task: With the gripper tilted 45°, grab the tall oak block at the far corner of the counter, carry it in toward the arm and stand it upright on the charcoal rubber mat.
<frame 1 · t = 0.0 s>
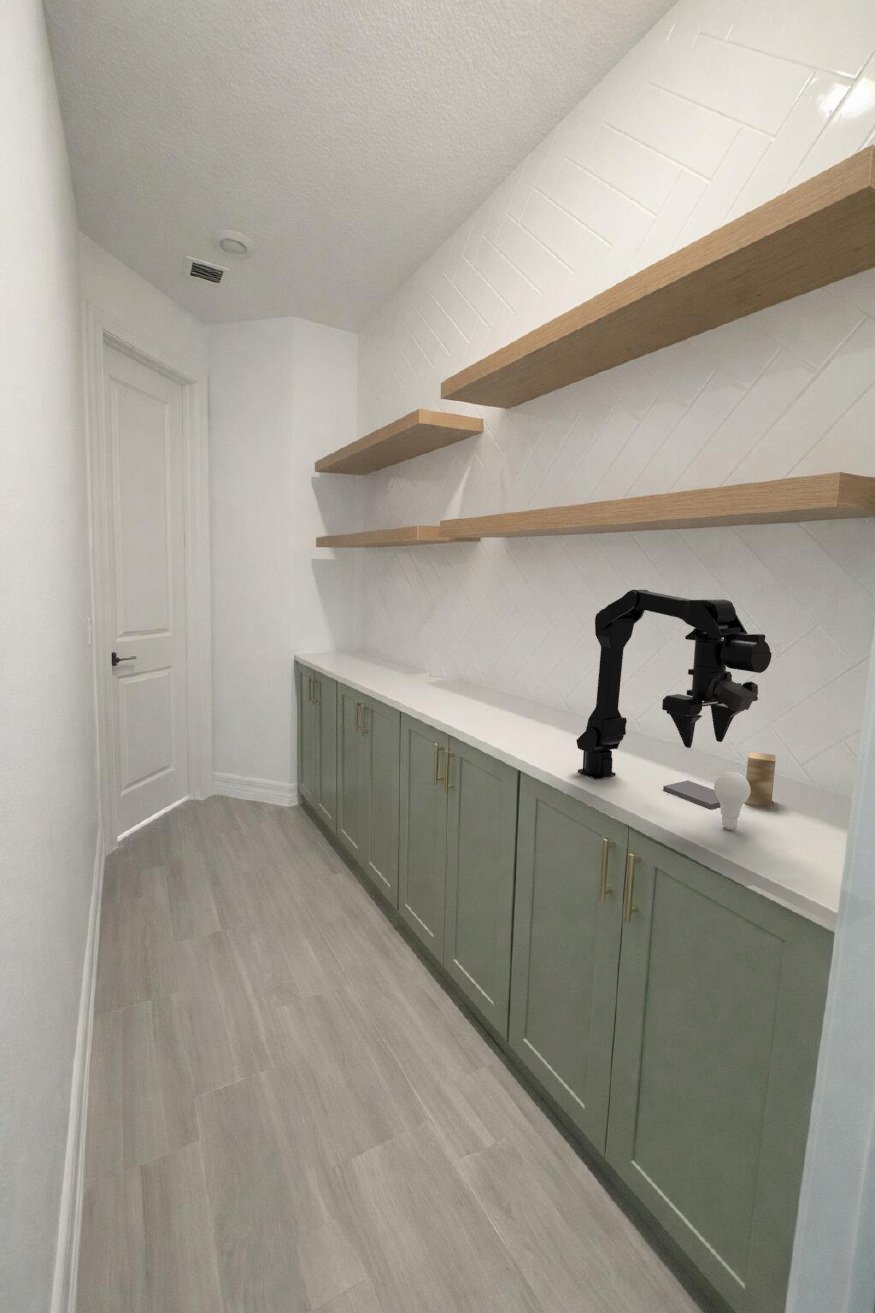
hand: (703, 744, 116), 15 cm above the worktop, tool pointing down, fingers open, 9 cm apart
lightbulb: (728, 830, 113), on the worktop
oak block: (757, 802, 126), on the worktop
charcoal mat: (698, 796, 129), on the worktop
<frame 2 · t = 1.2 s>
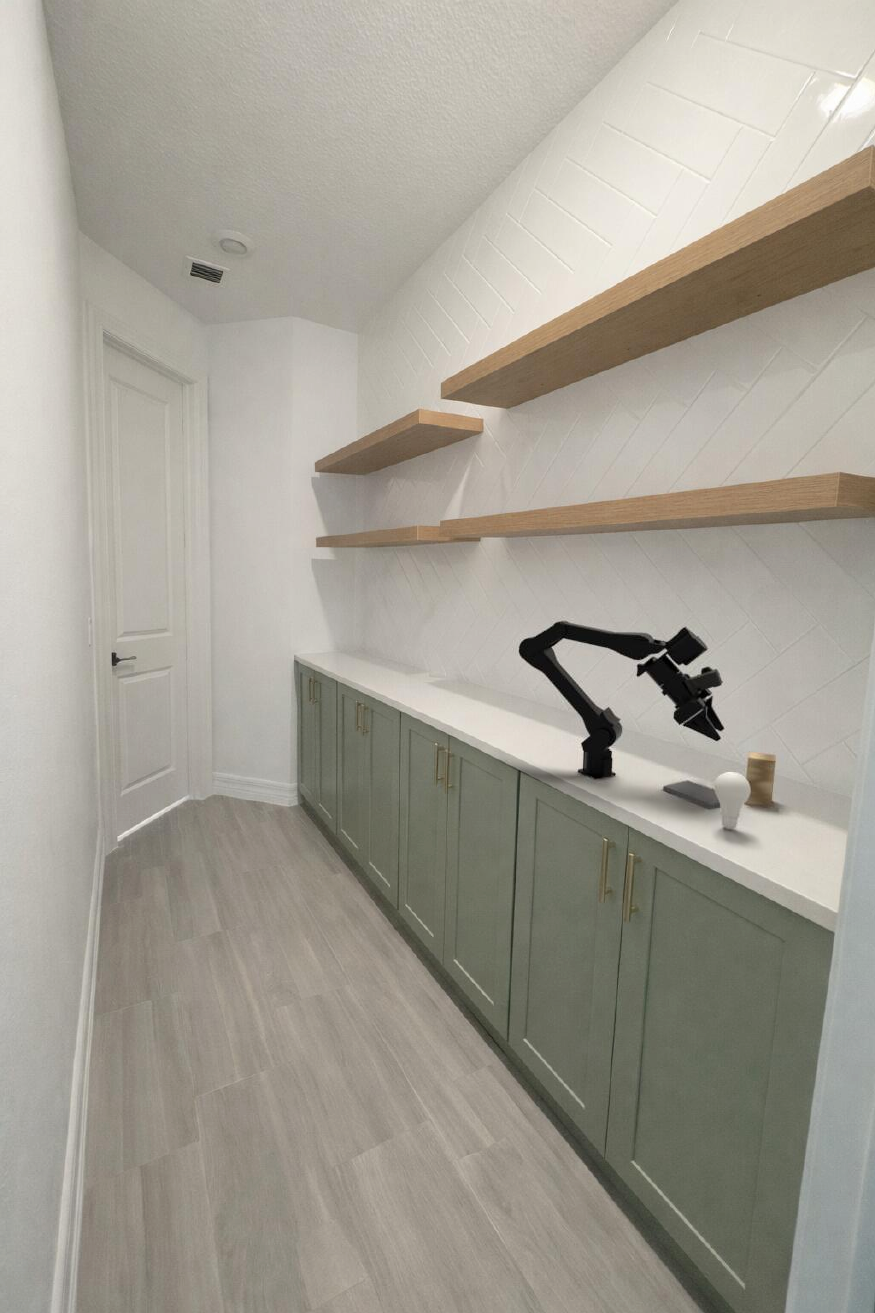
hand: (720, 734, 128), 13 cm above the worktop, tool tilted 45°, fingers open, 9 cm apart
nothing on the worktop moved.
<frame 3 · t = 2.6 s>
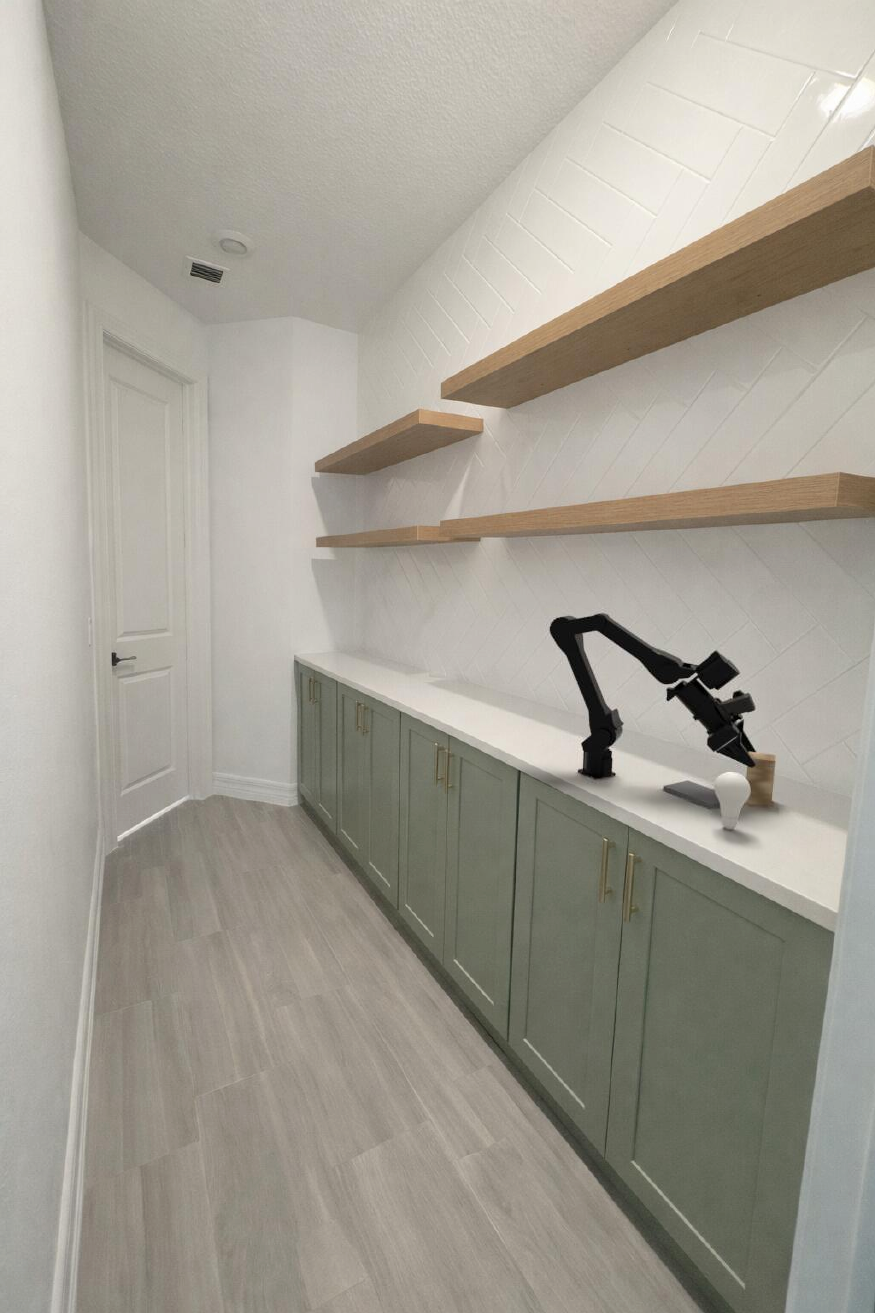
hand: (754, 760, 126), 9 cm above the worktop, tool tilted 45°, fingers open, 9 cm apart
nothing on the worktop moved.
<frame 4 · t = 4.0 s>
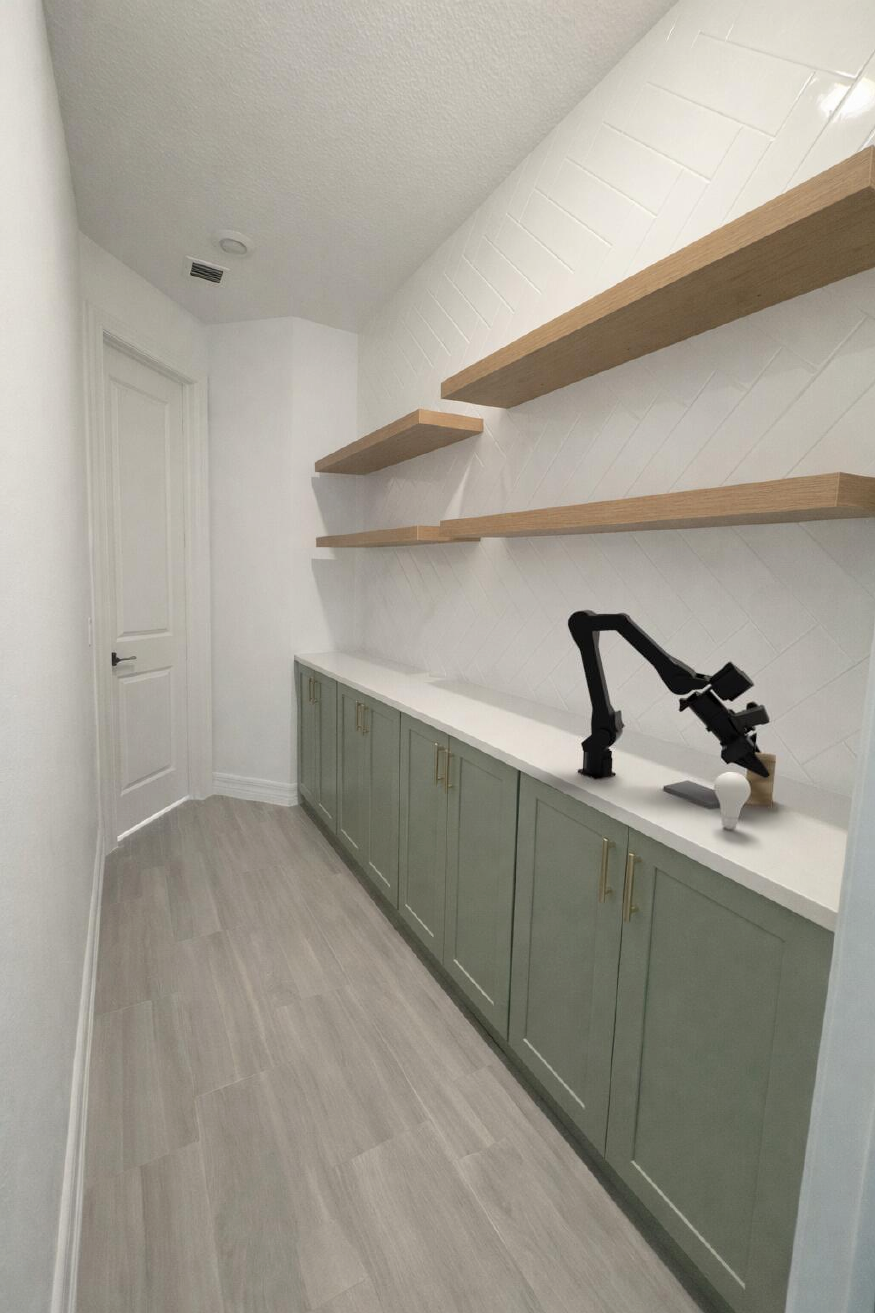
hand: (768, 772, 125), 7 cm above the worktop, tool tilted 45°, fingers closed on oak block, 5 cm apart
oak block: (757, 801, 126), on the worktop, touching gripper
everything else where it was.
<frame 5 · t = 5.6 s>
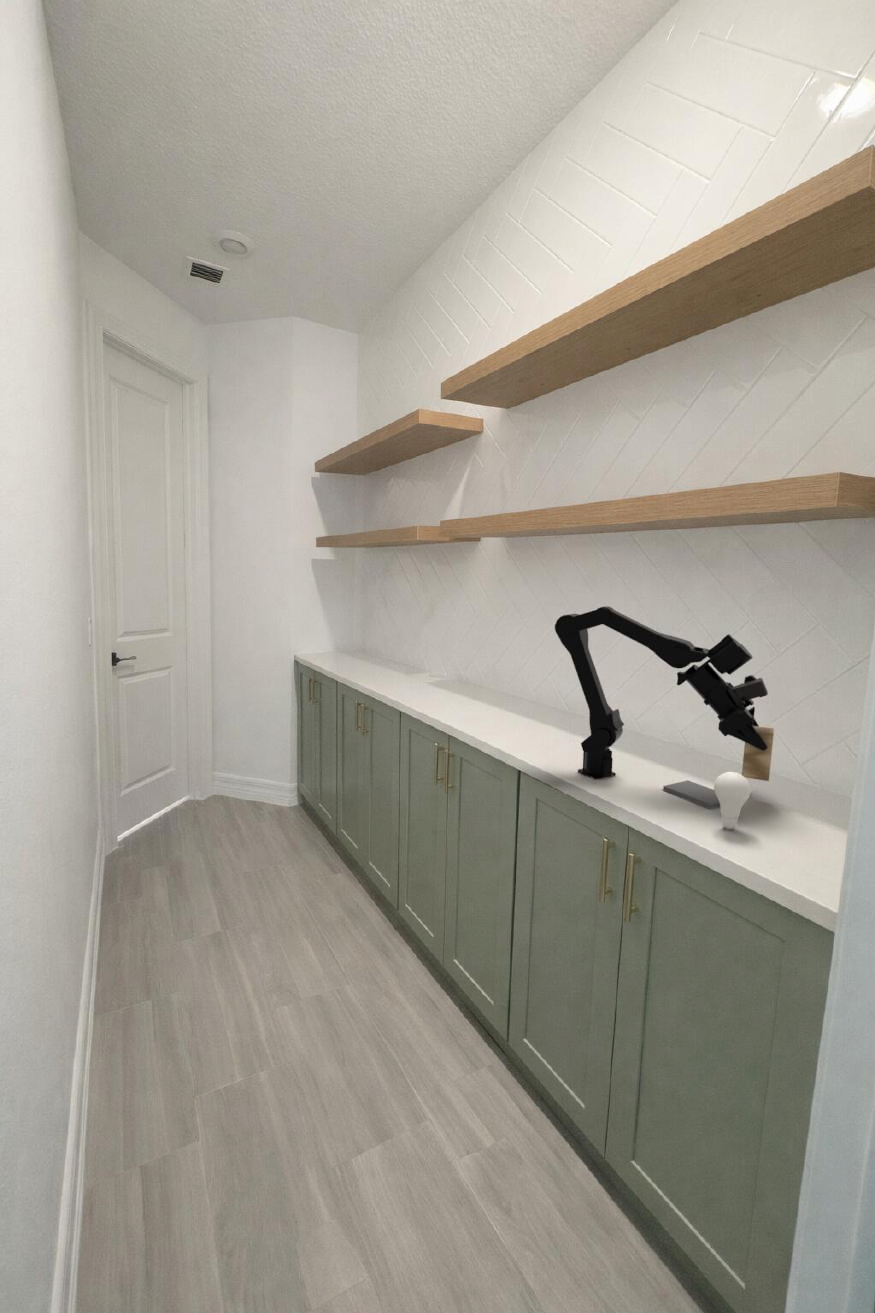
hand: (765, 746, 124), 12 cm above the worktop, tool tilted 45°, fingers closed on oak block, 5 cm apart
oak block: (755, 775, 126), point 6 cm above the worktop, touching gripper
everything else where it was.
when the fingers open (9 cm above the worktop, at t = 7.6 s): oak block drops 1 cm, resting on charcoal mat.
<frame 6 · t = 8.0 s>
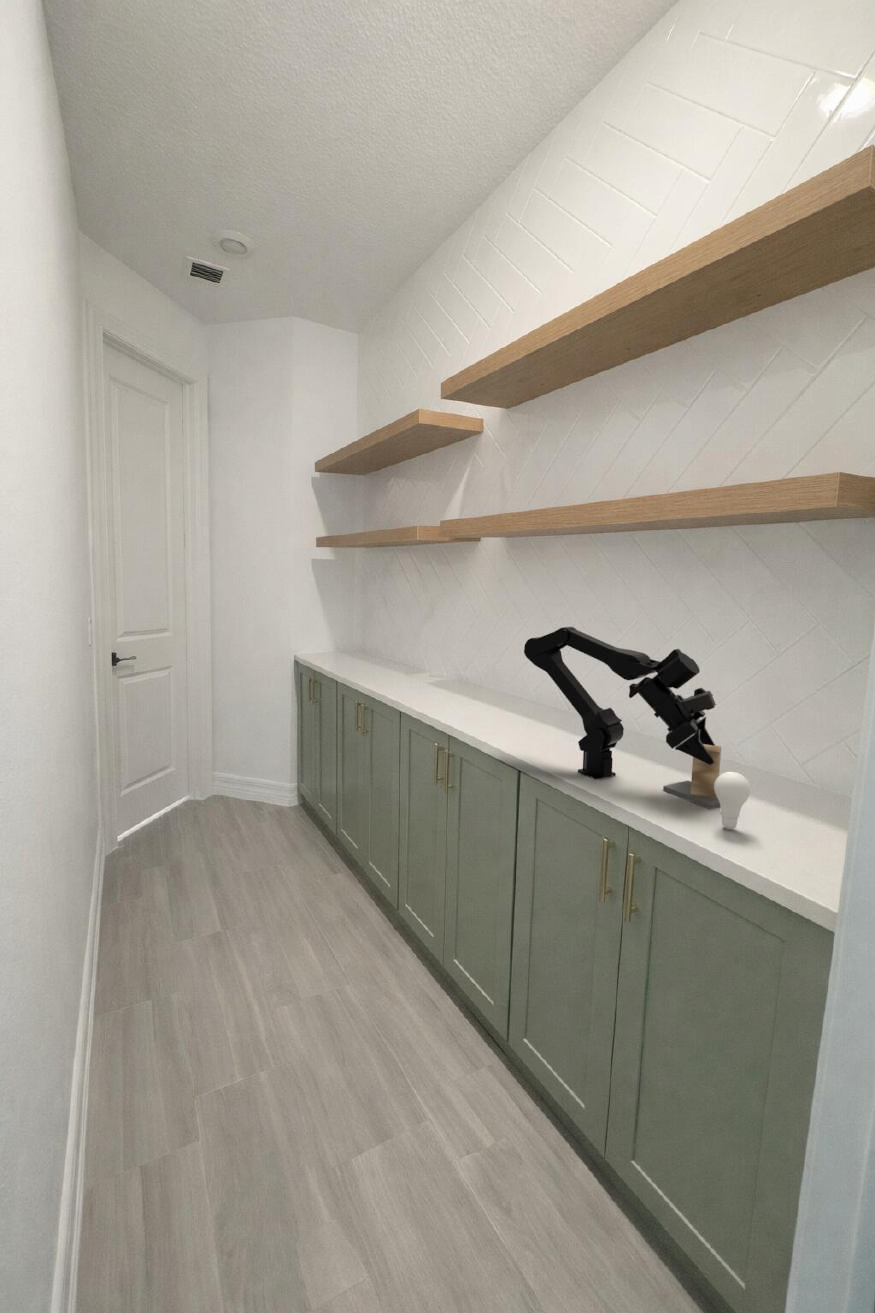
hand: (714, 757, 127), 9 cm above the worktop, tool tilted 45°, fingers open, 9 cm apart
oak block: (704, 792, 128), point 1 cm above the worktop, touching charcoal mat
everything else where it was.
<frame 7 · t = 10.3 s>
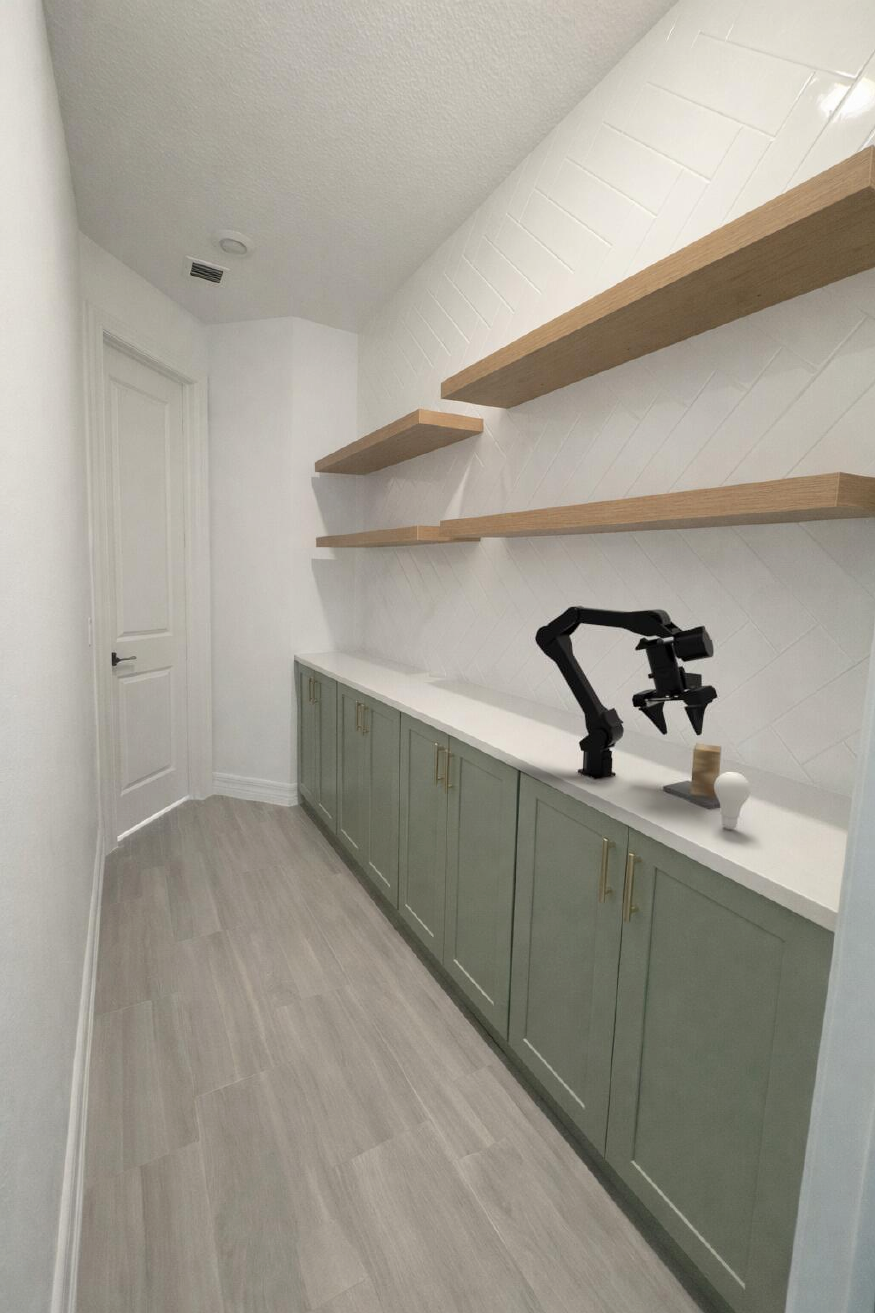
hand: (681, 734, 131), 13 cm above the worktop, tool tilted 15°, fingers open, 9 cm apart
nothing on the worktop moved.
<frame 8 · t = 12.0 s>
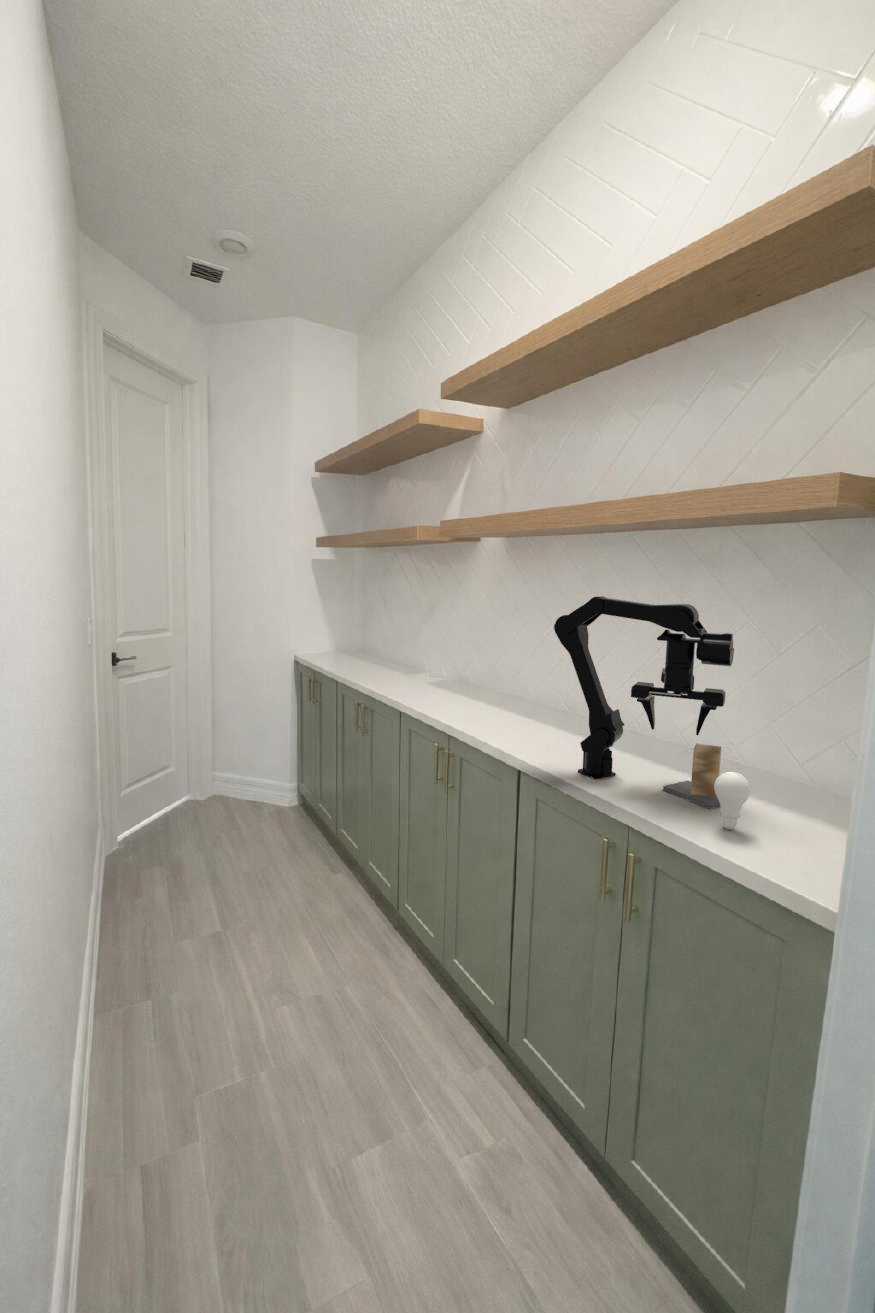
hand: (674, 732, 132), 13 cm above the worktop, tool pointing down, fingers open, 9 cm apart
nothing on the worktop moved.
at the end: oak block inside the target area on the charcoal mat (0.6 cm from its centre), point 1.0 cm above the charcoal mat's base; oak block tilted 0°; the gripper is holding nothing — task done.
